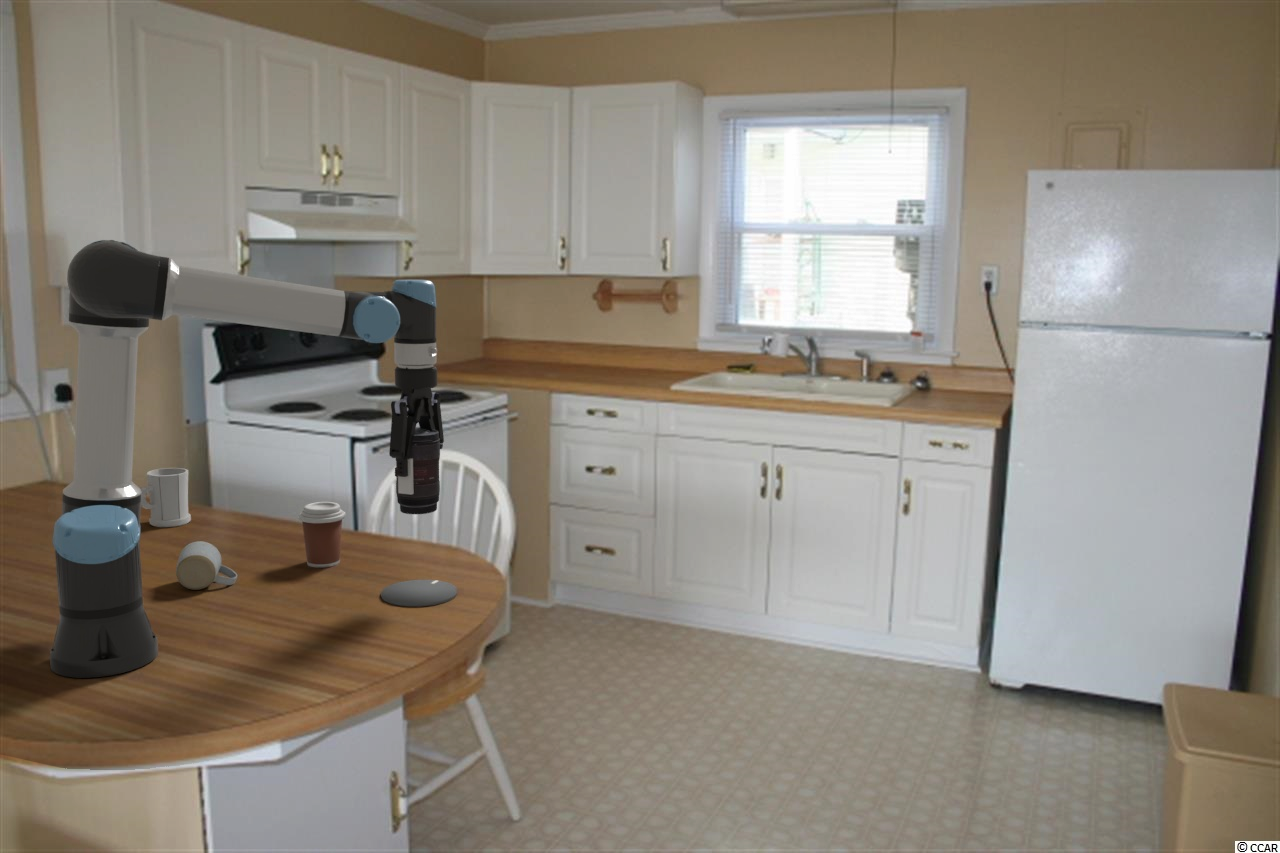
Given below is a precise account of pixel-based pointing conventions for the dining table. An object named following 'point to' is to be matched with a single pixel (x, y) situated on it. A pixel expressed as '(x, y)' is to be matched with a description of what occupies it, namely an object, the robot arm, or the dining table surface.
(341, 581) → the dining table surface
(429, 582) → the pad
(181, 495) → the cup
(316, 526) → the coffee cup
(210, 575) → the ceramic mug
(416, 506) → the camera lens
